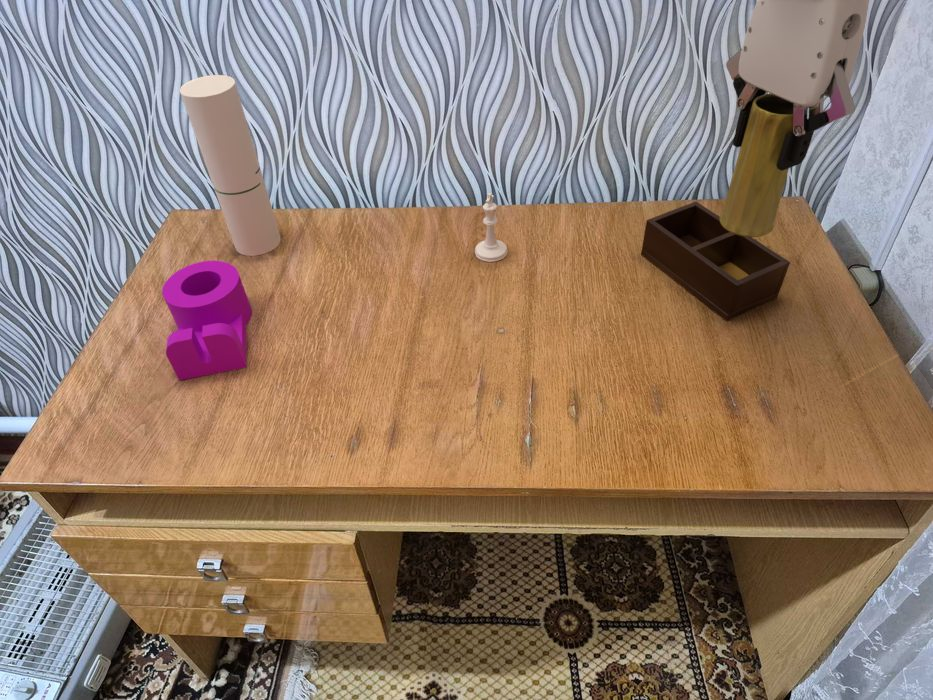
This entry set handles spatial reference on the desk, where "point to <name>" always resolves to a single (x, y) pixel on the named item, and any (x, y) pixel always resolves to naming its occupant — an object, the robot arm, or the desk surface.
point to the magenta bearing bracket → (207, 319)
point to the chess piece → (490, 236)
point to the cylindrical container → (231, 162)
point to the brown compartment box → (713, 260)
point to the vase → (758, 170)
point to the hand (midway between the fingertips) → (766, 152)
